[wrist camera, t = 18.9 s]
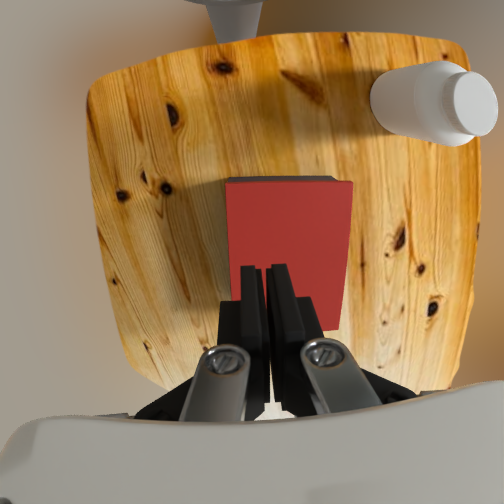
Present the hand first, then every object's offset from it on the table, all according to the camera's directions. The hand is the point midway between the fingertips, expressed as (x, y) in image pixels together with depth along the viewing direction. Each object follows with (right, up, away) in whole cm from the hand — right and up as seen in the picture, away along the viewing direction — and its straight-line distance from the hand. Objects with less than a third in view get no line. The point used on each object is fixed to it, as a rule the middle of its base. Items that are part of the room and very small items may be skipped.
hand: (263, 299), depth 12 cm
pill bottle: (+17, +19, +20) cm, 32 cm away
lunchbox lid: (+3, +1, +20) cm, 20 cm away
